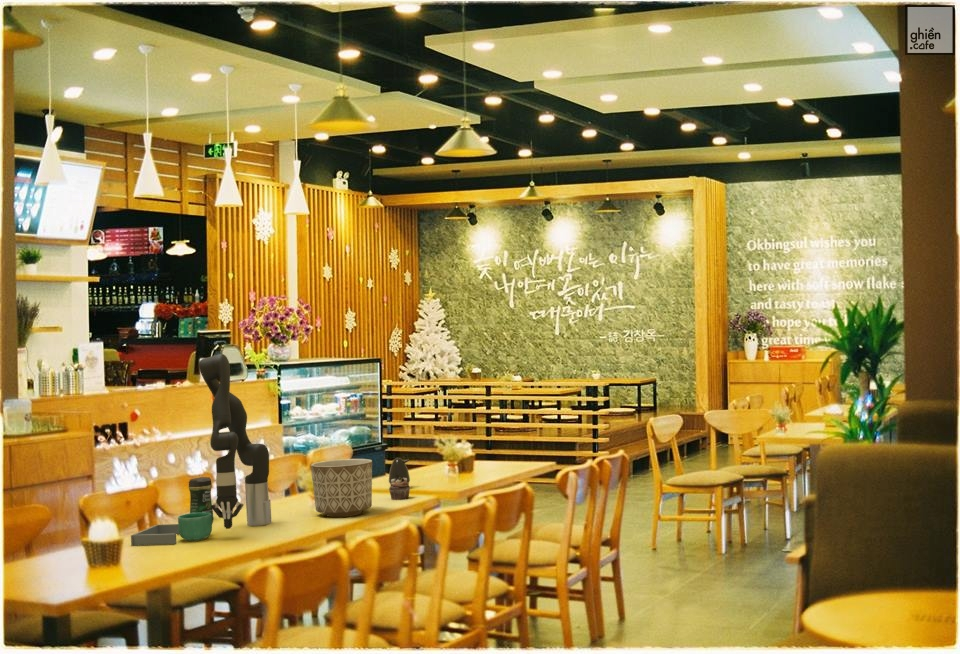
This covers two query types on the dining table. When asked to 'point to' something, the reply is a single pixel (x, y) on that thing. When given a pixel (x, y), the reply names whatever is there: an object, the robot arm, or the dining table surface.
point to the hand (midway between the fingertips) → (228, 528)
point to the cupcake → (399, 488)
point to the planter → (342, 486)
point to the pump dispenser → (399, 469)
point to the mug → (195, 526)
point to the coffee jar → (200, 495)
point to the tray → (156, 535)
